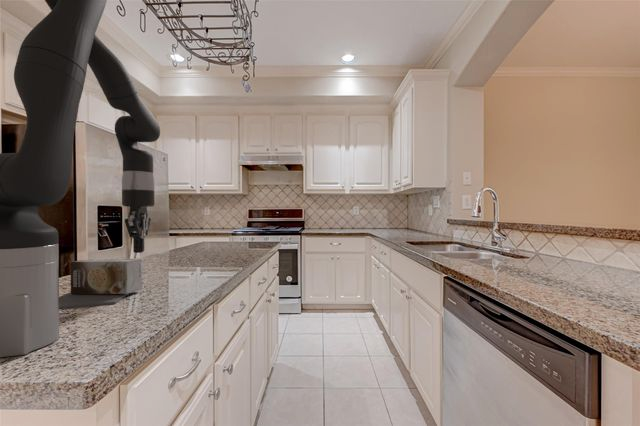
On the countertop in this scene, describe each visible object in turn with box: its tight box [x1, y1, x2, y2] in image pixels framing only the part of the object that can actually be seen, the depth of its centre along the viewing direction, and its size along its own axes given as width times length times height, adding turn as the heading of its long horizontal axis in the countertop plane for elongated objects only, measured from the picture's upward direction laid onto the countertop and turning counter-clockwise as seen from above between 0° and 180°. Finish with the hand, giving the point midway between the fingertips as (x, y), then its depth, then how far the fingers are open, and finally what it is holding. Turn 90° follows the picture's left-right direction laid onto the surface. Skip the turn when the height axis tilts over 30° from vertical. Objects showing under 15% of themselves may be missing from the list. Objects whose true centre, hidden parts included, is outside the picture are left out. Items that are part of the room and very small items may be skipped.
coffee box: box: [70, 258, 143, 295], centre depth 80 cm, size 9×6×16 cm
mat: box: [59, 292, 129, 309], centre depth 75 cm, size 12×16×1 cm
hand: (139, 252), depth 78 cm, fingers closed
